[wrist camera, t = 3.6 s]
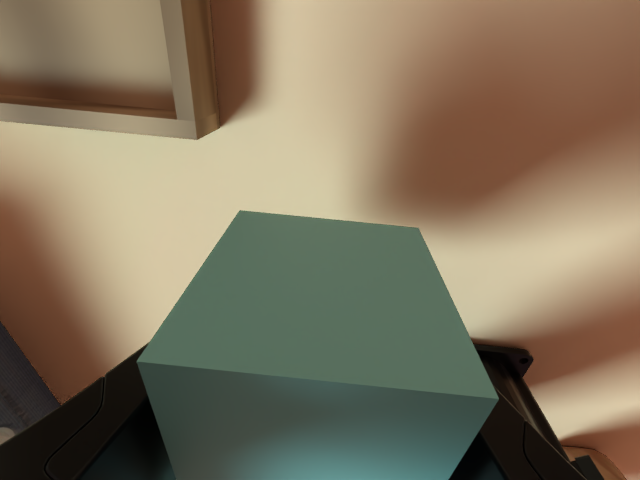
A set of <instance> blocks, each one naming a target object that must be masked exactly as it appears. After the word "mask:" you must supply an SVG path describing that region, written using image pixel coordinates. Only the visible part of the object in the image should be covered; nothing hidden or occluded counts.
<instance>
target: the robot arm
mask: <svg viewBox="0 0 640 480" xmlns="http://www.w3.org/2000/svg"><path fill="white" fill-rule="evenodd" d="M148 344H149V343H148ZM148 344H146V345H145V346H143V347H142V348H141V349H139V350H138V351H137V352H135V353H134V354H132V355H131V356H130V357H128V358H127V359H125V360H124V361H123V362H121V363H120V364H119V365H117V366H116V367H114V368H113V369H112V370H110V371H109V372H108V373H106V374H105V377H100V378H99V379H98V380H96V381H95V382H94V383H92V384H91V385H89V386H88V387H87V388H85V389H84V390H82V391H81V392H80V393H78V394H77V395H75V396H74V397H72V398H71V399H70V400H68V401H67V402H65V403H64V404H62V405H61V406H59V407H58V408H56V409H55V410H53V411H52V412H50V413H49V414H47V415H46V416H44V417H43V418H41V419H40V420H38V421H36V422H35V423H33V424H32V425H30V426H29V427H27V428H26V429H24V430H22V431H21V432H19V433H18V434H16V435H14V436H13V437H11V438H10V439H8V440H7V441H5V442H3V443H2V444H0V480H176V477H175V474H174V471H173V468H172V465H171V462H170V459H169V456H168V453H167V450H166V447H165V444H164V441H163V439H162V436H161V433H160V430H159V427H158V424H157V421H156V418H155V415H154V412H153V409H152V406H151V403H150V400H149V397H148V394H147V391H146V388H145V385H144V382H143V379H142V376H141V373H140V370H139V367H138V364H137V360H138V359H139V357H140V356H141V354H142V353H143V351H144V350H145V348H146V347H147V345H148ZM473 345H474V347H475V349H476V351H477V353H478V355H479V357H480V360H481V362H482V364H483V366H484V368H485V370H486V372H487V374H488V376H489V379H490V381H491V383H492V385H493V387H494V389H495V391H496V393H497V396H498V398H499V400H498V402H497V403H496V405H495V406H494V408H493V409H492V411H491V413H490V414H489V416H488V417H487V419H486V421H485V422H484V424H483V425H482V427H481V429H480V430H479V432H478V433H477V435H476V437H475V438H474V440H473V441H472V443H471V444H470V446H469V448H468V449H467V451H466V452H465V454H464V456H463V457H462V459H461V460H460V462H459V464H458V465H457V467H456V468H455V470H454V471H453V473H452V475H451V476H450V478H449V479H448V480H604V478H603V476H602V475H601V473H600V472H599V470H598V469H597V467H596V465H595V464H594V462H593V461H592V459H591V457H590V456H589V454H587V455H583V456H579V457H575V461H570V459H569V457H568V456H567V454H566V452H565V450H564V449H563V447H562V445H561V443H560V442H559V440H558V438H557V437H556V435H555V433H554V431H553V430H552V428H551V426H550V424H549V423H548V421H547V419H546V418H545V416H544V414H543V412H542V411H541V409H540V407H539V405H538V404H537V402H536V400H535V399H534V397H533V395H532V393H531V392H530V390H529V388H528V386H527V385H526V383H525V381H524V379H523V376H524V374H525V373H526V371H527V370H528V368H529V367H530V365H531V364H532V362H533V357H532V356H531V354H530V353H529V351H527V350H524V349H516V348H506V347H496V346H486V345H477V344H473Z"/></svg>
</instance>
